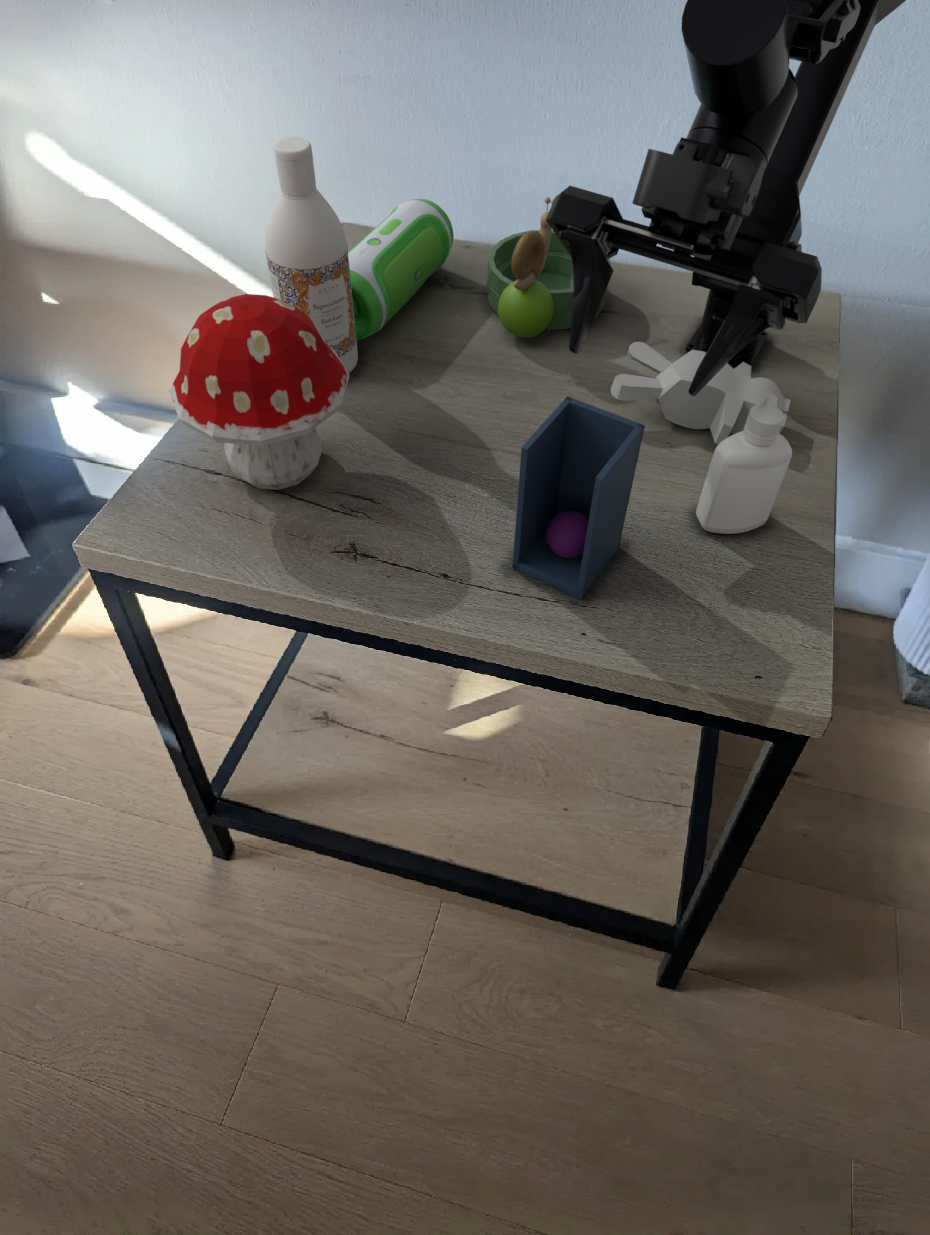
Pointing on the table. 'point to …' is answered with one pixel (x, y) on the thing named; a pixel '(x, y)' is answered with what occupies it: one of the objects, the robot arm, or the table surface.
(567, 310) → the bowl
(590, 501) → the dark blue rectangular box
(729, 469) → the eye dropper bottle
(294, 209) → the bath foam
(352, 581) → the table surface
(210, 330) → the decorative mushroom
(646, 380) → the bunny figurine
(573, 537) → the ball
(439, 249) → the speaker
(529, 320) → the snail figurine
